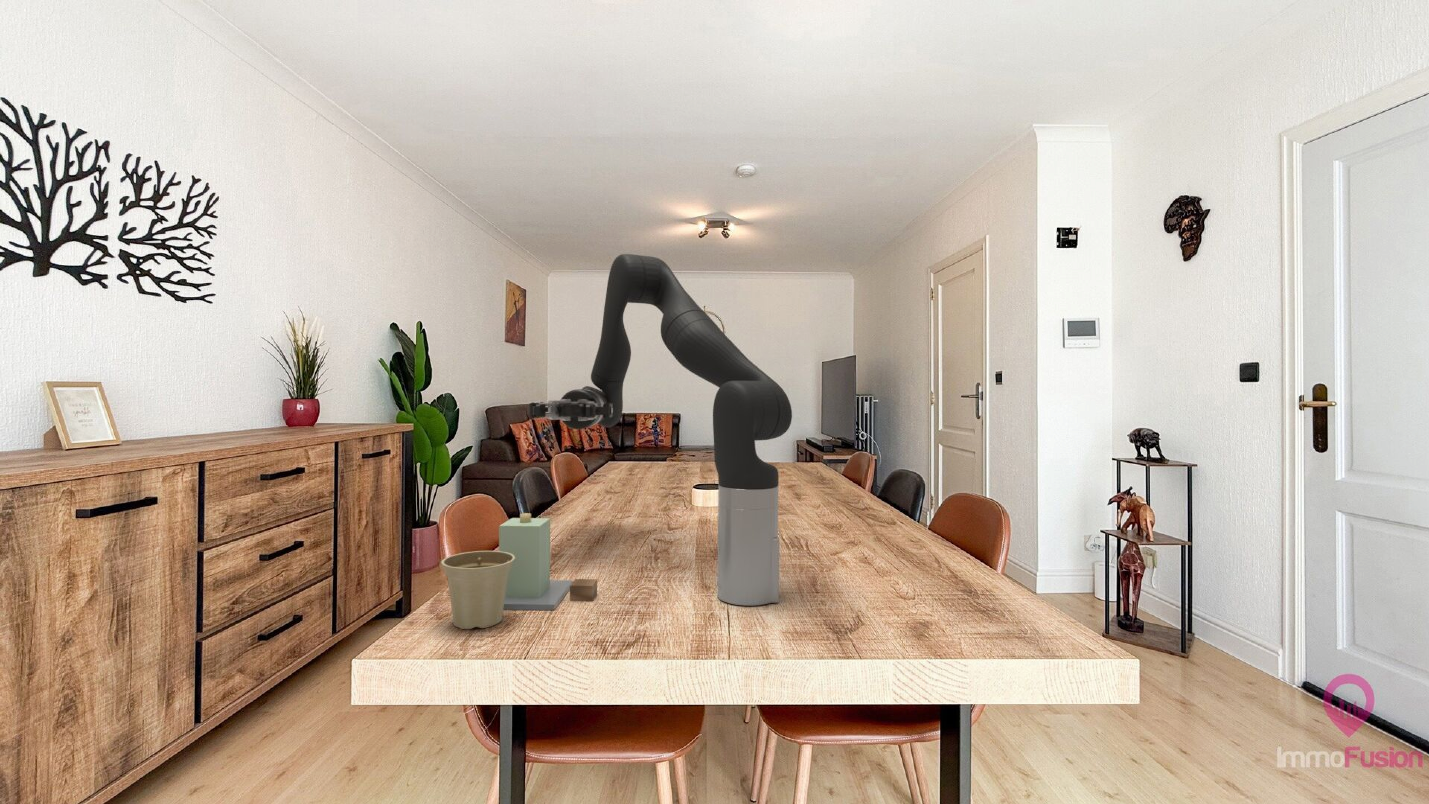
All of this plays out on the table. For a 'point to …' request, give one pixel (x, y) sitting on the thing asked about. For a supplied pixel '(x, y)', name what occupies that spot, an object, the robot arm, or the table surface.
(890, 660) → the table surface
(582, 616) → the table surface
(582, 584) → the walnut block
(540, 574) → the sage green tall block
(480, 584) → the flower pot
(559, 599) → the slate coaster
